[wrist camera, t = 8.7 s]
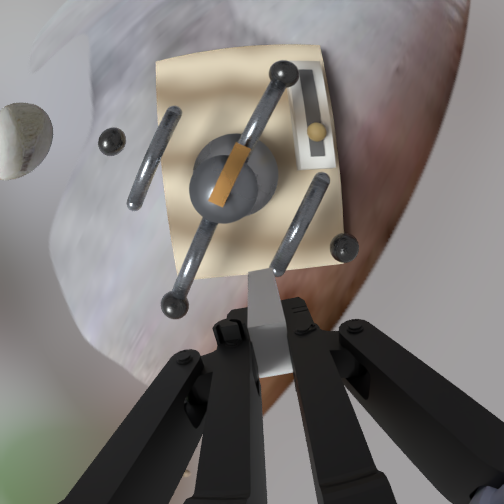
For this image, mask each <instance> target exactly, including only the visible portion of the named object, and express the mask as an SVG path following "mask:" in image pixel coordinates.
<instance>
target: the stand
mask: <svg viewBox="0 0 504 504" xmlns="http://www.w3.org/2000/svg"><path fill="white" fill-rule="evenodd" d="M280 60H287V61H290V62H292V63H294V64H295V65H296V66H297V68H298V70H299V79H298V81H297V83H296V84H295V85H293V86H291V87H288V88H286V89H285V91H284V92H283V94H282V96H281V98H280V100H279V102H278V104H277V106H276V107H275V109H274V111H273V113H272V115H271V117H270V119H269V121H268V123H267V125H266V127H265V129H264V131H263V133H262V134H261V136H260V138H259V140H260V141H261V142H262V143H264V144H265V145H266V146H267V147H268V148H269V150H270V151H271V152H272V154H273V156H274V158H275V160H276V163H277V166H278V184H277V188H276V190H275V193H274V195H273V196H272V198H271V200H270V201H269V202H268V203H267V204H266V205H265V206H264V207H263V208H262V209H261V210H259V211H257V212H256V213H254V214H251V215H249V216H245V217H243V218H241V219H240V220H238V221H235V222H232V223H227V224H220V223H219V224H218V226H217V228H216V230H215V232H214V235H213V237H212V239H211V241H210V244H209V246H208V248H207V250H206V253H205V255H204V257H203V260H202V262H201V264H200V266H199V269H198V271H197V273H196V276H195V278H194V279H204V278H214V277H225V276H235V275H245V274H248V272H250V271H256V270H261V269H266V268H269V266H270V263H271V262H272V260H273V258H274V256H275V254H276V252H277V250H278V248H279V246H280V244H281V242H282V240H283V238H284V236H285V234H286V232H287V230H288V228H289V226H290V224H291V222H292V220H293V218H294V216H295V214H296V212H297V210H298V208H299V206H300V204H301V202H302V200H303V198H304V196H305V194H306V192H307V190H308V188H309V186H310V184H311V182H312V180H313V178H314V176H315V174H316V173H318V172H325V173H327V174H328V175H329V177H330V184H329V186H328V188H327V190H326V192H325V194H324V197H323V199H322V201H321V203H320V205H319V207H318V209H317V211H316V213H315V215H314V217H313V219H312V221H311V223H310V225H309V227H308V229H307V231H306V233H305V235H304V236H303V238H302V240H301V242H300V244H299V246H298V248H297V250H296V252H295V254H294V256H293V258H292V260H291V262H290V263H289V265H288V267H287V269H286V270H292V269H301V268H309V267H318V266H326V265H335V264H343V263H341V262H338V261H336V260H335V259H334V258H333V257H332V255H331V253H330V243H331V240H332V239H333V238H334V237H335V236H336V235H337V234H340V233H344V231H343V209H342V194H341V181H340V170H339V160H338V150H337V142H336V134H335V126H334V119H333V113H332V106H331V100H330V94H329V88H328V83H327V78H326V73H325V68H324V63H323V58H322V54H321V49H320V45H258V46H244V47H234V48H225V49H218V50H211V51H204V52H198V53H193V54H188V55H183V56H178V57H173V58H169V59H165V60H161V61H157V62H156V92H157V114H158V126H159V124H160V122H161V120H162V118H163V116H164V114H165V112H166V110H167V109H168V108H169V107H171V106H178V107H180V108H181V110H182V116H181V118H180V120H179V122H178V124H177V126H176V128H175V130H174V132H173V134H172V137H171V139H170V141H169V143H168V145H167V147H166V149H165V151H164V154H163V156H162V158H161V165H162V174H163V183H164V192H165V200H166V207H167V214H168V221H169V228H170V235H171V241H172V247H173V253H174V258H175V264H176V270H177V275H178V274H179V272H180V269H181V267H182V264H183V262H184V259H185V257H186V254H187V252H188V250H189V247H190V245H191V243H192V240H193V238H194V235H195V233H196V231H197V228H198V226H199V224H200V222H201V219H202V216H201V215H200V214H199V213H198V212H197V211H196V210H195V208H194V207H193V205H192V202H191V199H190V195H189V184H190V180H191V177H192V175H193V168H194V164H195V161H196V158H197V157H198V155H199V153H200V152H201V150H202V149H203V148H204V147H205V146H206V145H207V144H208V143H209V142H211V141H212V140H214V139H216V138H218V137H220V136H223V135H226V134H236V133H238V134H242V133H243V131H244V129H245V127H246V125H247V123H248V121H249V119H250V118H251V116H252V114H253V112H254V110H255V108H256V106H257V104H258V103H259V101H260V99H261V97H262V95H263V93H264V92H265V90H266V88H267V86H268V84H269V83H270V81H271V80H270V78H269V69H270V67H271V65H272V64H273V63H275V62H277V61H280Z"/></svg>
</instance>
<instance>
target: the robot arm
mask: <svg viewBox="0 0 504 504" xmlns="http://www.w3.org/2000/svg"><path fill="white" fill-rule="evenodd" d="M213 332H214V335H215V338H216V341H217V345H218V346H217V350H215V351H214V352H212V353H209V354H206V355H203V356H200V354H199V352H198V351H196V350H192V349H190V350H183V351H180V352H178V353H176V354H174V355H173V356H172V357H171V358H170V360H169V361H168V362H167V364H166V365H165V366H164V368H163V369H162V370H161V372H160V373H159V374H158V376H157V377H156V378H155V379H154V381H153V382H152V383H151V385H150V386H149V387H148V389H147V390H146V391H145V393H144V394H143V396H142V397H141V398H140V400H139V401H138V402H137V403H136V405H135V406H134V407H133V409H132V410H131V411H130V413H129V414H128V415H127V417H126V418H125V419H124V421H123V422H122V423H121V425H120V426H119V427H118V429H117V430H116V431H115V433H114V434H113V435H112V437H111V438H110V439H109V441H108V442H107V443H106V445H105V446H104V447H103V449H102V450H101V451H100V452H99V454H98V455H97V457H96V458H95V459H94V461H93V462H92V463H91V464H90V466H89V467H88V469H87V470H86V471H85V472H84V474H83V475H82V476H81V478H80V479H79V480H78V482H77V483H76V484H75V486H74V487H73V488H72V490H71V491H70V492H69V494H68V495H67V496H66V498H65V499H64V500H62V501H61V502H59V503H58V504H169V502H170V499H171V497H172V496H173V494H174V491H175V490H176V488H177V486H178V484H179V482H180V480H181V478H182V476H183V474H184V472H185V470H186V468H187V466H188V463H189V461H190V460H191V457H192V455H193V453H194V451H195V449H196V447H197V445H198V443H199V441H200V439H201V436H202V434H203V437H202V445H201V451H200V457H199V464H198V471H197V478H196V485H195V491H194V494H193V496H192V497H190V498H188V499H186V500H185V502H184V503H183V504H267V489H266V470H265V455H264V454H265V453H264V435H263V417H262V399H261V385H260V381H259V377H260V378H262V377H269V376H275V375H281V374H286V373H291V372H293V375H294V382H295V388H296V391H297V396H298V401H299V406H300V411H301V416H302V421H303V427H304V431H305V437H306V442H307V447H308V452H309V458H310V463H311V469H312V474H313V479H314V485H315V491H316V496H317V502H318V504H397V503H396V500H395V497H394V494H393V492H392V489H391V486H390V483H389V481H388V479H387V477H386V476H385V474H384V473H383V472H381V471H378V470H377V468H376V466H375V464H374V461H373V458H372V456H371V453H370V451H369V448H368V445H367V442H366V440H365V437H364V435H363V432H362V429H361V427H360V424H359V422H358V419H357V417H356V414H355V412H354V409H353V407H352V404H351V402H350V399H349V397H348V394H347V392H346V390H345V387H346V388H347V389H348V390H349V391H350V392H351V393H352V395H353V396H354V397H355V398H356V399H357V400H358V401H359V403H360V404H361V405H362V406H363V407H364V408H365V409H366V411H367V412H368V413H369V414H370V415H371V416H372V417H373V419H374V420H375V421H376V422H377V423H378V424H379V426H380V427H382V429H383V430H384V431H385V432H386V433H387V434H388V436H389V437H390V438H391V439H392V440H393V441H394V443H395V444H396V445H397V446H398V447H399V448H400V449H401V450H402V451H403V453H404V454H406V456H407V457H408V458H409V459H410V460H411V461H412V463H413V464H414V465H415V466H416V467H417V468H418V469H419V470H420V471H421V472H422V473H423V475H424V476H425V477H426V478H427V479H428V480H429V481H430V482H431V483H432V484H433V486H434V487H435V488H436V489H437V490H438V491H439V492H440V493H441V494H442V495H443V496H444V497H445V498H446V499H447V500H449V501H450V502H451V503H453V504H504V422H503V421H501V420H500V419H498V418H497V417H496V416H495V415H493V414H492V413H491V412H489V411H488V410H487V409H485V408H484V407H483V406H482V405H480V404H479V403H478V402H476V401H475V400H473V399H472V398H471V397H470V396H468V395H467V394H466V393H464V392H463V391H462V390H460V389H459V388H458V387H456V386H455V385H453V384H452V383H451V382H450V381H448V380H447V379H445V378H444V377H443V376H441V375H440V374H439V373H437V372H436V371H435V370H433V369H432V368H431V367H429V366H428V365H427V364H425V363H424V362H423V361H421V360H420V359H418V358H417V357H416V356H414V355H413V354H412V353H410V352H409V351H407V350H406V349H405V348H403V347H402V346H401V345H399V344H398V343H397V342H395V341H394V340H392V339H391V338H390V337H388V336H387V335H386V334H384V333H383V332H381V331H380V330H379V329H377V328H376V327H375V326H373V325H372V324H370V323H369V322H367V321H365V320H361V319H352V320H349V321H346V322H344V323H342V324H341V325H340V327H339V331H324V330H321V329H320V328H319V326H318V325H317V324H315V323H314V322H313V320H312V317H311V315H310V312H309V310H308V308H307V306H306V303H305V301H304V300H303V299H301V298H299V297H296V298H291V299H286V300H280V296H279V292H278V288H277V284H276V280H275V276H274V272H273V268H266V269H261V270H256V271H250V272H248V307H246V308H240V309H234V310H231V311H230V313H229V314H228V315H227V319H223V320H221V321H219V322H218V323H216V324H215V325H214V327H213ZM258 373H259V374H258ZM344 385H345V387H344Z"/></svg>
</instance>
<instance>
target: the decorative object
mask: <svg viewBox="0 0 504 504" xmlns="http://www.w3.org/2000/svg"><path fill="white" fill-rule="evenodd" d="M52 138H53V127H52V123H51V120H50V118H49V116H48V115H47V113H46V112H45V111H44V110H43V109H41V108H40V107H38V106H36V105H34V104H28V103H13V104H10V105H7V106H5V107H4V108H2V109H1V110H0V180H11V179H16V178H19V177H22V176H24V175H26V174H28V173H30V172H31V171H33V170H34V169H35V168H36V167H37V166H38V165H39V164H40V163H41V162H42V161H43V160H44V158H45V157H46V155H47V154H48V152H49V149H50V146H51V144H52Z"/></svg>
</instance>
